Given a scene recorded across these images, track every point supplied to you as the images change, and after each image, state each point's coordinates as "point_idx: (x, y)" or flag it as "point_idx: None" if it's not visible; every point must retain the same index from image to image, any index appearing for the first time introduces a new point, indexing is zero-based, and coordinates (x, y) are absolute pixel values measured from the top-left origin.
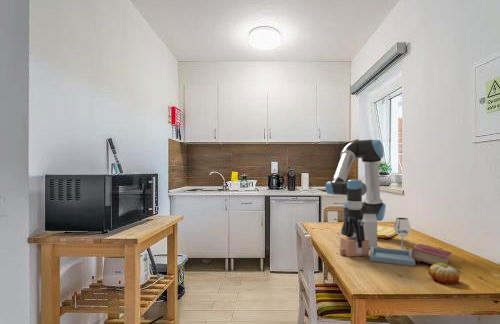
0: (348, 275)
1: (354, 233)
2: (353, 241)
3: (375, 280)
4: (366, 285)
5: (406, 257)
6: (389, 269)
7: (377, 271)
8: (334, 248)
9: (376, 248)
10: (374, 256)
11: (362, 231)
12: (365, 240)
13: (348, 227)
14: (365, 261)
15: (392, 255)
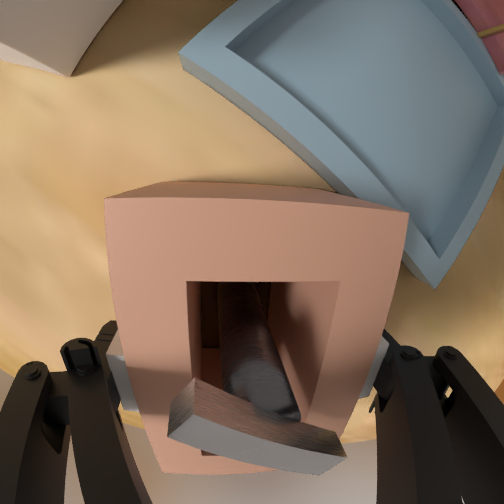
0: None
1: (216, 441)
2: (341, 421)
3: (495, 356)
4: None
5: (417, 6)
6: (498, 256)
7: (484, 318)
8: (56, 340)
9: (243, 31)
10: (448, 257)
11: (500, 440)
12: (393, 274)
13: (43, 501)
14: (404, 303)
15: (372, 26)
